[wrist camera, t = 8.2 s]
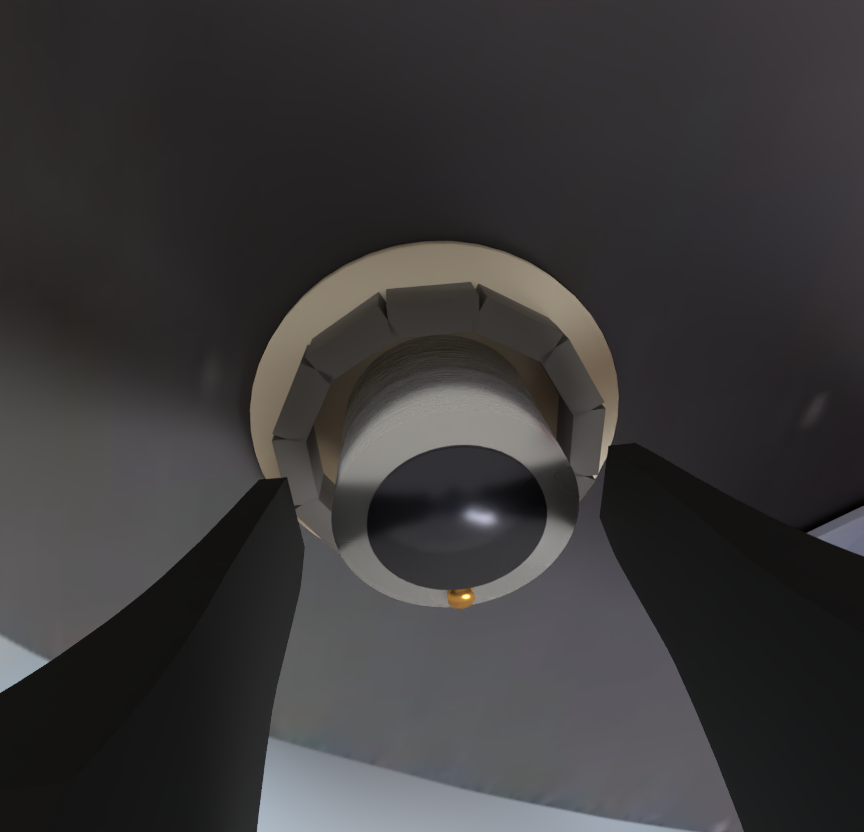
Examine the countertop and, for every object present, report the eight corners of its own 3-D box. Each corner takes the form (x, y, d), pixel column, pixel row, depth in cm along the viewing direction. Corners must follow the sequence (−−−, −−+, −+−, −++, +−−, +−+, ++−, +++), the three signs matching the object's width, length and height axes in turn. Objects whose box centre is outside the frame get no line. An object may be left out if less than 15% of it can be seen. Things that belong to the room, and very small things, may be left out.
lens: (533, 326, 13) (593, 403, 9) (526, 488, 15) (572, 599, 11) (331, 344, 12) (309, 429, 9) (358, 504, 15) (349, 623, 11)
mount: (661, 454, 15) (692, 489, 14) (396, 598, 18) (397, 643, 16) (500, 148, 11) (519, 149, 10) (173, 388, 13) (145, 421, 12)
